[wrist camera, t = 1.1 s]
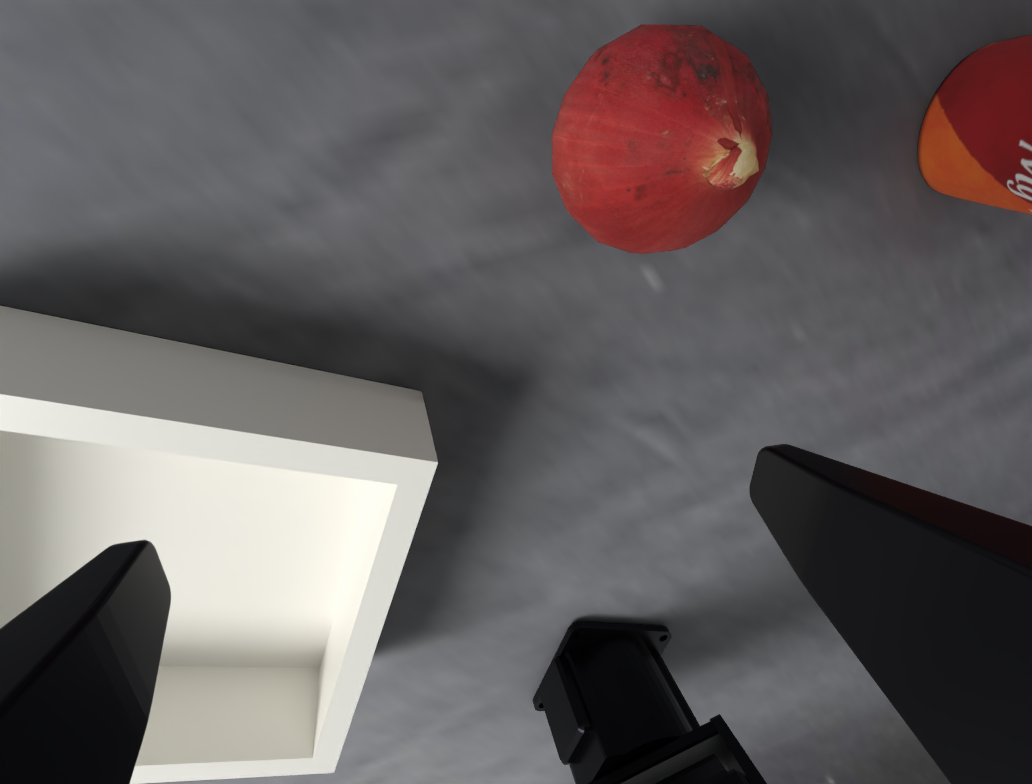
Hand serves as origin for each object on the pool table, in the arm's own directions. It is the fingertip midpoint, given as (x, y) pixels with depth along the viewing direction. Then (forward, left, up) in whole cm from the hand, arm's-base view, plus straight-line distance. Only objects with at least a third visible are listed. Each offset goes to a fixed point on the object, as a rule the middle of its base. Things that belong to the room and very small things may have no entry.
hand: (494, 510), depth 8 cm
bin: (+6, +12, -13) cm, 18 cm away
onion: (-5, -6, -13) cm, 15 cm away
